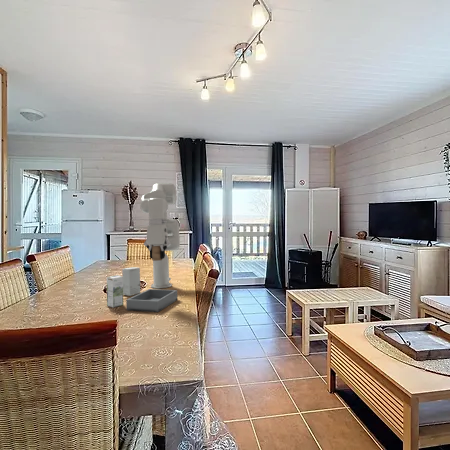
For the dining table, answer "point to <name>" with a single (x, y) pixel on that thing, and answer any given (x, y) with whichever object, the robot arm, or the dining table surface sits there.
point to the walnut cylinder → (156, 253)
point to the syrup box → (115, 291)
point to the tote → (151, 300)
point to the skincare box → (131, 281)
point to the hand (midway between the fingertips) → (157, 258)
